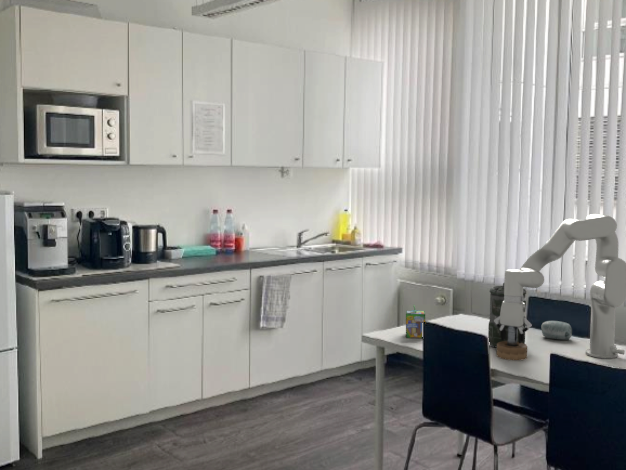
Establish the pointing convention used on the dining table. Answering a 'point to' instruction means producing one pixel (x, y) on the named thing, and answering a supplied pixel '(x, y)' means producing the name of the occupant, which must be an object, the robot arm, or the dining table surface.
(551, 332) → the grey-green rounded cylinder
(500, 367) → the dining table surface
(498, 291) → the canister
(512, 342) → the pin
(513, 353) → the brown round short cylinder
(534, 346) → the dining table surface
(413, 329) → the chalk box
